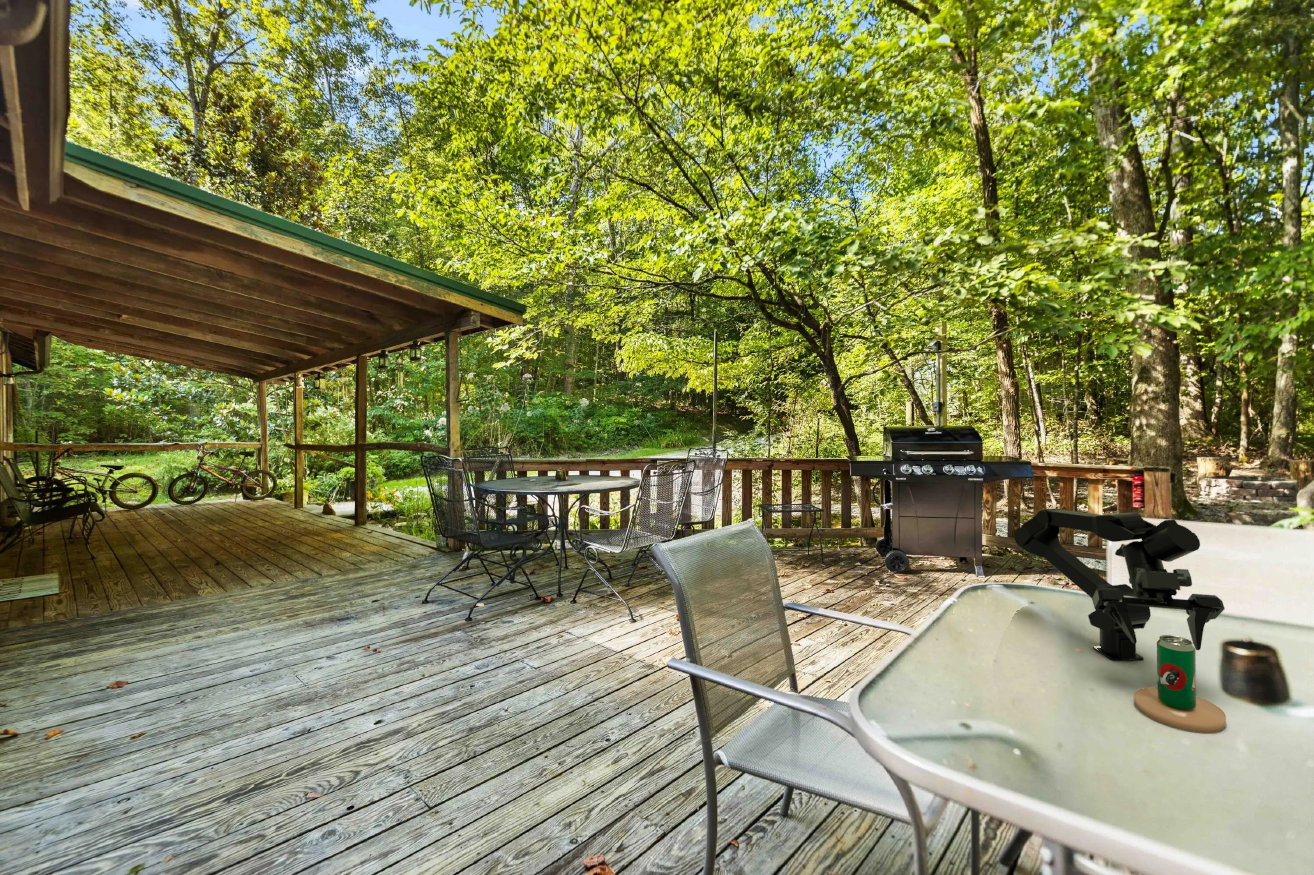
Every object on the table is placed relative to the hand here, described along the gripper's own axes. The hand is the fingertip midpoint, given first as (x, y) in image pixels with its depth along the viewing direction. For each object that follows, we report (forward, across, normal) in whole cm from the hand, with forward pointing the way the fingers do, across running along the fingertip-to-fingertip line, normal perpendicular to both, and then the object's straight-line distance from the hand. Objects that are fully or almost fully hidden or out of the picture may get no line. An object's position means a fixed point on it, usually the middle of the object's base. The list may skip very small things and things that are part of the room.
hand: (1166, 646), depth 104 cm
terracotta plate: (+11, 0, +2) cm, 12 cm away
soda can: (+10, 0, +1) cm, 10 cm away
